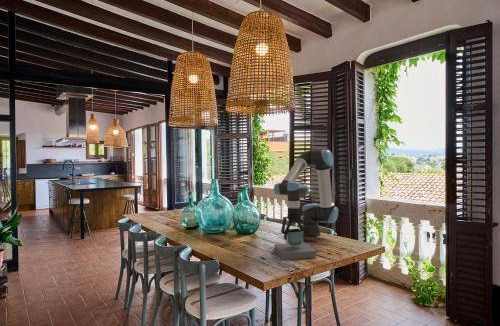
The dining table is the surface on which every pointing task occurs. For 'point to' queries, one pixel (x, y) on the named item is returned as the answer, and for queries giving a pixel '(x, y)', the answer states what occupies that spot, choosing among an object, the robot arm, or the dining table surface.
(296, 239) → the flower pot
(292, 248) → the plinth
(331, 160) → the robot arm
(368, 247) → the dining table surface
